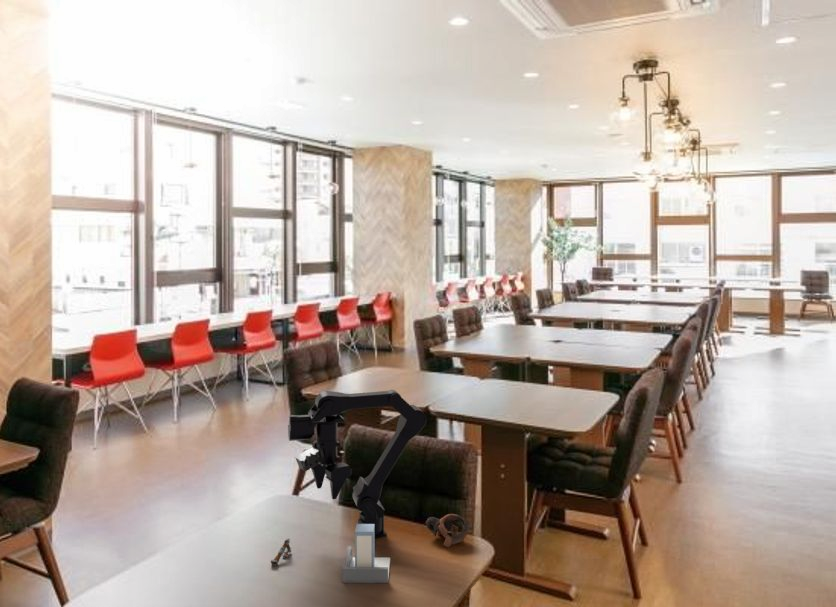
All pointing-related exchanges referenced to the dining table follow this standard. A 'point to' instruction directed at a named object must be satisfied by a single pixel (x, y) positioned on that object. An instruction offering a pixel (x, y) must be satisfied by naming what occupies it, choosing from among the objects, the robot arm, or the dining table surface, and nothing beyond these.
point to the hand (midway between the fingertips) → (326, 493)
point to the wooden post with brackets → (281, 551)
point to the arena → (365, 570)
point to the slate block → (365, 545)
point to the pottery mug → (447, 528)
